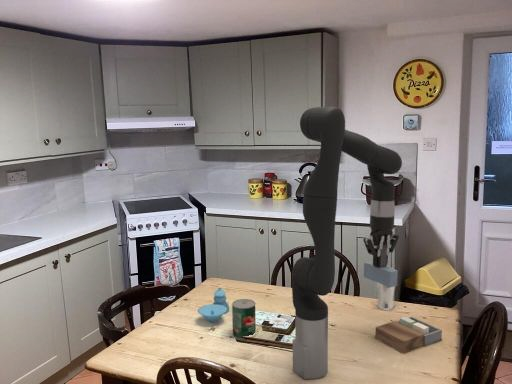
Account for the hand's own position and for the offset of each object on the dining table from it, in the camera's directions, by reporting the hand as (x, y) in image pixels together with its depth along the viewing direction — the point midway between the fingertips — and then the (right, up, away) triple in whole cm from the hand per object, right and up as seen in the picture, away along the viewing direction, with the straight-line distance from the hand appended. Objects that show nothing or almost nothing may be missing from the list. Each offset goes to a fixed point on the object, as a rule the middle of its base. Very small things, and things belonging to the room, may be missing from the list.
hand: (380, 266), depth 153 cm
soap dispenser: (-55, -23, +22) cm, 63 cm away
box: (+14, -24, +4) cm, 28 cm away
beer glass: (+9, -20, +28) cm, 36 cm away
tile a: (+12, -22, 0) cm, 25 cm away
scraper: (0, -5, +1) cm, 5 cm away
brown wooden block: (+6, -25, 0) cm, 25 cm away
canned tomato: (-44, -25, +7) cm, 51 cm away
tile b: (+9, -21, +4) cm, 23 cm away
